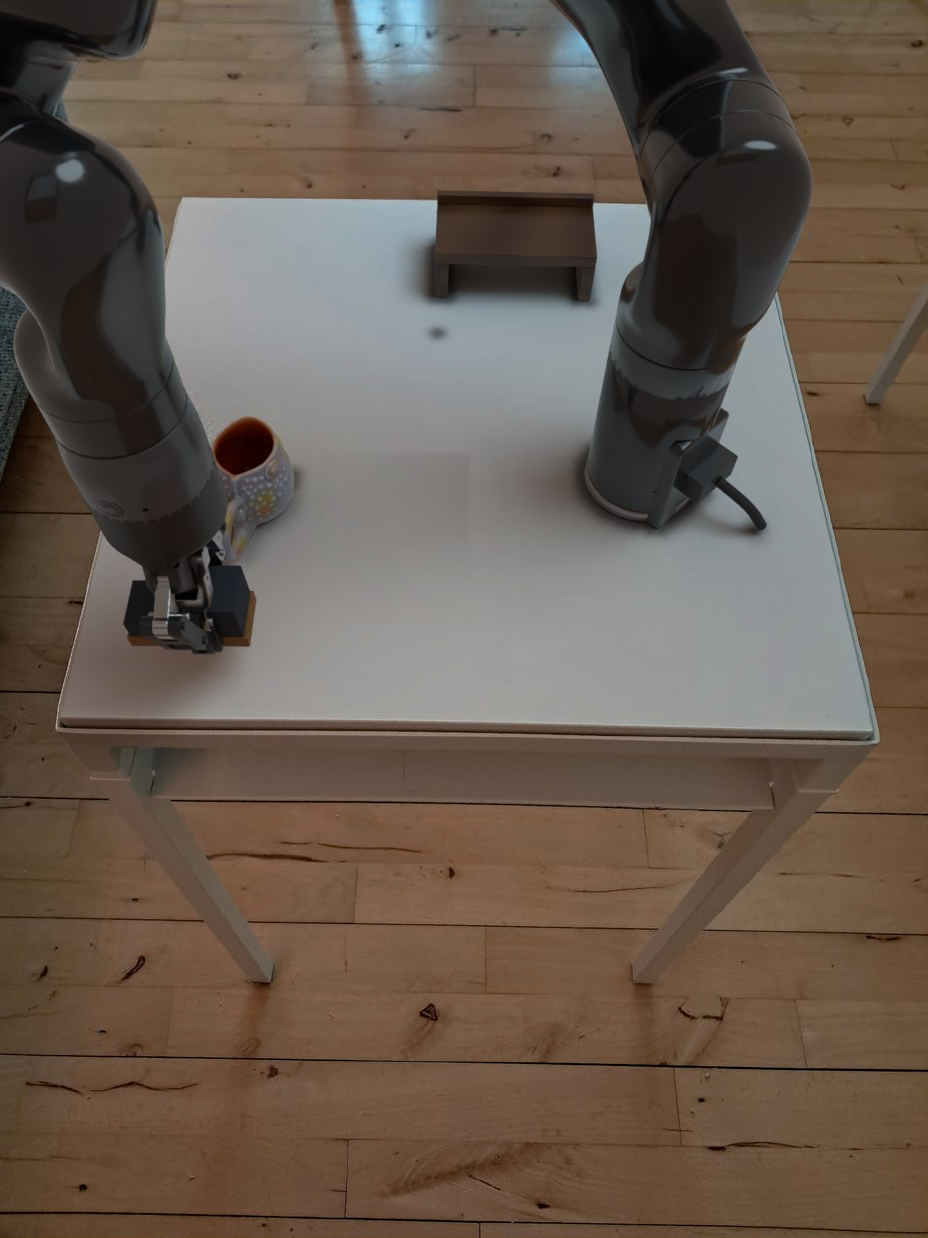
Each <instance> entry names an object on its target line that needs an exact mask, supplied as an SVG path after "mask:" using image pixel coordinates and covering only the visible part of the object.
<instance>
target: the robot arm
mask: <svg viewBox="0 0 928 1238" xmlns="http://www.w3.org/2000/svg"><path fill="white" fill-rule="evenodd" d="M548 1H549V2H550V4H552V5H553V6H554V8H556V10H557V11H558V12H559V13H560V14H561V15H562V16H563V17H564V18H565V19H566V20H567V21H568V22H569V23H570V24H571V25H572V26H573V28H575V30H576V31H577V32H578V34H579V35H580V36H581V37H582V39H583V40H584V42H585V43H586V44H587V46H588V48H589V49H590V51H591V53H592V54H593V56H594V58H595V60H596V62H597V64H598V66H599V67H600V70H601V72H602V74H603V77H604V79H605V81H606V84H607V86H608V88H609V90H610V93H611V95H612V97H613V99H614V102H615V103H616V104H615V105H616V107H617V110H618V113H619V114H620V117H621V120H622V122H623V125H624V128H625V130H626V133H627V136H628V139H629V142H630V145H631V149H632V152H633V156H634V160H635V165H636V169H637V173H638V177H639V180H640V183H641V189H642V193H643V196H644V200H645V204H646V208H647V212H648V215H649V220H650V226H649V231H648V237H647V242H646V247H645V252H644V256H643V260H642V261H641V262H639V263H638V264H637V265H636V266H634V267H633V268H632V269H631V270H630V271H629V272H628V274H627V276H626V277H625V279H624V281H623V284H622V286H621V290H620V293H619V297H618V301H617V302H618V303H617V308H616V313H615V318H614V324H613V329H612V334H611V340H610V344H609V349H608V353H607V360H606V364H605V370H604V375H603V380H602V384H601V389H600V395H599V400H598V403H597V404H598V405H597V411H596V416H595V420H594V426H593V429H592V436H591V442H590V446H589V451H588V453H587V457H586V461H585V466H584V481H585V485H586V488H587V490H588V492H589V494H590V495H591V497H592V498H593V499H594V501H596V502H597V504H598V505H600V506H601V507H602V508H603V509H605V510H606V511H608V512H609V513H611V514H612V515H615V516H618V517H619V518H622V519H626V520H630V521H635V522H636V521H637V522H646V523H648V524H650V525H651V526H652V527H654V528H656V529H658V528H660V527H661V526H662V525H664V524H665V523H666V522H667V521H669V520H670V519H671V518H672V517H673V516H674V515H676V514H677V513H678V512H680V511H681V510H682V509H683V508H684V507H685V506H686V505H687V504H688V503H689V502H691V501H692V502H693V503H695V504H697V505H699V503H700V502H702V501H703V500H704V499H705V498H706V497H707V496H709V494H711V493H712V492H713V491H714V490H715V489H716V488H717V489H718V490H720V491H721V492H722V493H724V494H725V495H726V496H727V497H728V498H729V499H730V500H732V501H733V502H734V503H735V504H737V505H738V506H739V507H740V508H741V509H742V510H743V511H744V512H745V513H746V515H747V516H748V517H749V519H750V520H751V522H752V524H753V525H754V527H755V529H756V530H757V531H759V532H760V531H761V532H762V531H763V530H765V529H766V528H767V527H768V523H767V522H766V519H765V518H764V516H763V515H762V513H761V512H760V510H759V508H758V507H757V506H756V505H755V504H754V503H753V502H752V501H751V499H749V498H748V497H747V496H746V495H745V494H743V493H742V492H741V491H740V490H739V489H737V487H735V486H734V485H733V484H732V483H731V482H729V481H728V480H727V479H728V478H729V477H731V475H732V473H733V471H734V468H735V466H736V463H737V461H738V458H739V456H738V455H737V454H735V452H733V451H731V450H730V449H729V448H727V447H726V446H724V445H723V444H721V443H720V442H721V439H722V436H723V434H724V431H725V428H726V425H727V423H728V420H729V417H730V413H729V411H727V410H726V409H725V408H723V404H724V401H725V398H726V394H727V393H728V389H729V387H730V384H731V381H732V378H733V375H734V372H735V370H736V367H737V364H738V362H739V358H740V355H741V353H742V350H743V348H744V345H745V343H746V340H747V337H748V335H749V333H750V332H751V331H752V330H753V329H754V328H755V327H756V326H757V325H758V324H759V323H760V322H761V321H762V319H763V318H764V316H765V315H766V314H767V312H768V311H769V309H770V307H771V305H772V303H773V301H774V299H775V297H776V295H777V292H778V290H779V287H780V285H781V282H782V280H783V278H784V275H785V274H786V271H787V270H788V269H787V268H788V266H789V264H790V262H791V260H792V257H793V255H794V252H795V250H796V248H797V245H798V243H799V240H800V238H801V236H802V233H803V230H804V228H805V224H806V221H807V220H808V215H809V211H810V208H811V203H812V198H813V188H814V177H813V169H812V166H811V162H810V159H809V157H808V154H807V153H806V150H805V148H804V145H803V143H802V140H801V138H800V135H799V133H798V130H797V128H796V125H795V123H794V120H793V118H792V116H791V113H790V111H789V109H788V106H787V104H786V102H785V100H784V98H783V96H782V94H781V93H780V91H779V89H778V87H777V85H776V84H775V82H774V81H773V79H772V78H771V76H770V74H769V73H768V71H767V69H766V68H765V66H764V65H763V63H762V61H761V60H760V58H759V56H758V54H757V53H756V51H755V49H754V47H753V46H752V44H751V42H750V40H749V38H748V36H747V35H746V33H745V31H744V29H743V28H742V25H741V23H740V22H739V19H738V18H737V15H736V13H735V11H734V10H733V8H732V6H731V3H730V1H729V0H548ZM158 3H159V0H0V287H1V288H3V289H5V290H7V291H8V292H10V293H12V294H13V295H16V296H17V298H19V299H20V301H22V303H23V304H24V305H25V307H26V309H25V310H24V311H23V313H22V314H21V316H20V318H19V319H18V321H17V324H16V326H15V330H14V335H13V352H14V357H15V363H16V364H17V368H18V370H19V372H20V375H21V377H22V379H23V382H24V384H25V386H26V388H27V390H28V392H29V393H30V396H31V398H32V399H33V401H34V403H35V405H36V406H37V408H38V410H39V412H40V414H41V415H42V417H43V419H44V421H45V423H46V425H47V426H48V428H49V430H50V432H51V433H52V435H53V438H54V440H55V443H56V445H57V448H58V452H59V455H60V458H61V460H62V462H63V466H64V467H65V469H66V471H67V473H68V474H69V476H70V478H71V480H72V481H73V483H74V485H75V486H76V488H77V490H78V492H79V494H80V496H81V498H82V500H83V501H84V503H85V505H86V506H87V508H88V511H89V512H90V513H91V515H92V517H93V519H94V521H95V522H96V524H97V527H98V528H99V530H100V532H101V533H102V535H103V537H104V538H105V540H106V541H107V543H108V544H109V545H110V546H111V547H112V548H113V549H114V550H116V551H117V552H118V553H120V554H121V555H123V556H124V557H126V558H128V559H129V560H131V561H133V562H135V563H136V564H138V565H139V566H141V570H142V572H143V575H144V580H145V581H146V585H147V587H148V588H149V590H150V591H151V592H153V593H154V595H155V603H154V612H150V613H149V614H148V616H142V617H141V618H140V622H139V630H140V634H141V635H142V636H143V637H145V638H147V639H149V640H150V641H152V642H154V643H156V644H157V645H159V646H158V647H161V648H163V649H164V650H166V651H191V653H192V654H193V655H207V656H208V655H210V656H211V655H212V656H213V655H216V653H221V652H223V648H224V647H223V644H224V640H223V638H222V635H221V633H220V631H219V629H218V626H217V624H216V622H215V620H214V617H213V615H212V611H211V607H210V605H211V602H212V598H213V595H214V589H213V585H212V581H211V577H210V573H209V569H208V565H225V563H224V562H225V561H224V556H225V549H224V546H223V544H222V535H225V532H226V529H227V524H226V522H225V517H226V513H227V495H226V491H225V488H224V485H223V482H222V479H221V476H220V473H219V471H218V468H217V465H216V462H215V459H214V456H213V453H212V450H211V444H210V441H209V439H208V436H207V434H206V430H205V427H204V423H203V422H202V419H201V417H200V414H199V412H198V410H197V408H196V406H195V404H194V402H193V401H192V399H191V397H190V396H189V394H188V392H187V390H186V388H185V385H184V383H183V380H182V377H181V374H180V371H179V369H178V365H177V362H176V360H175V357H174V355H173V351H172V348H171V346H170V343H169V341H168V338H167V336H166V317H167V299H166V297H167V296H166V254H165V253H166V252H165V236H164V229H163V225H162V220H161V216H160V214H159V211H158V207H157V205H156V203H155V200H154V197H153V196H152V194H151V192H150V191H149V188H148V187H147V184H146V183H145V181H144V180H143V179H142V177H141V175H140V174H139V171H137V170H136V168H135V167H134V165H133V164H132V163H131V162H130V161H129V159H128V158H127V157H126V156H125V155H124V154H123V153H122V152H121V151H120V150H118V148H116V147H114V146H113V145H112V144H111V143H110V142H108V141H106V140H104V139H103V138H101V137H98V136H97V135H95V134H93V133H91V132H89V131H87V130H85V129H83V128H81V127H79V126H76V125H74V124H71V123H69V122H67V121H66V120H63V119H61V118H59V117H57V116H56V114H57V110H58V107H59V104H60V102H61V99H62V97H63V95H64V93H65V91H66V88H67V87H68V84H69V82H70V80H71V78H72V76H73V74H74V72H75V71H76V69H77V67H78V65H79V63H80V62H82V61H84V60H94V61H95V60H96V61H104V62H122V61H127V60H131V59H133V58H135V57H136V56H138V55H139V54H140V53H141V52H142V51H143V49H145V47H146V45H147V43H148V40H149V38H150V35H151V32H152V29H153V25H154V22H155V17H156V13H157V9H158ZM197 586H198V588H196V587H197ZM181 608H192V609H196V610H197V611H198V613H188V612H182V609H181Z"/></svg>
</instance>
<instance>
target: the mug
mask: <svg viewBox="0 0 928 1238" xmlns="http://www.w3.org/2000/svg"><path fill="white" fill-rule="evenodd" d="M210 448H211V450H212V453H213V456H214V459H215V462H216V465H217V468H218V471H219V473H220V476H221V479H222V482H223V485H224V488H225V491H226V495H227V513H226V517H225V522H226V524H227V529H226V532H225V535H222V544H223V546H224V549H225V556H224V560H223V562H228V563H231V562H234V561H236V560H237V559H238V558H239V557H240V555H242V553H243V551H244V550H245V548H246V546H247V544H248V542H249V540H250V538H251V536H252V534H253V533H254V531H255V529H256V527H257V526H259V525H262V524H265V523H268V522H271V521H272V520H274V519H276V518H277V517H278V516H279V515H280V514H282V512H284V511H285V509H286V508H287V506H288V505H289V503H290V502H291V499H292V496H293V493H294V490H295V489H294V488H295V474H294V469H293V465H292V462H291V459H290V457H289V455H288V453H287V451H286V449H285V448H284V445H283V442H282V440H281V438H280V437H279V436H278V435H277V434H276V433H275V431H274V430H273V428H272V427H271V426H270V425H269V424H268V423H266V422H265V421H263V420H262V419H260V418H258V417H255V416H242V417H240V418H237V419H235V420H233V421H232V422H230V423H229V424H227V426H225V427H224V428H223V429H222V430H221V431H220V432H219V433H218V434H217V435H216V437H215V438H214V439H213V441H212V442H211V444H210ZM232 530H233V531H234V533H233V539H232Z"/></svg>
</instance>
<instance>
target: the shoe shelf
mask: <svg viewBox="0 0 928 1238" xmlns="http://www.w3.org/2000/svg"><path fill="white" fill-rule="evenodd" d="M594 204H595V194H594V193H584V192H583V193H582V192H581V193H580V192H543V191H539V192H537V191H498V190H497V191H491V190H490V191H489V190H444V189H438V190H436V222H435V226H436V227H435V245H434V246H435V247H434V276H435V277H434V278H435V279H434V281H435V282H434V283H435V285H434V287H435V298H437V299H448V298H449V277H450V275H449V272H450V265H477V266H478V265H481V266H482V265H483V266H484V265H485V266H529V267H533V266H534V267H571V268H573V267H574V268H575V276H576V291H577V301H581V302H590V301H591V299H592V291H593V285H594V279H595V278H594V277H595V273H596V266H597V261H598V252H597V251H598V250H597V239H596V238H597V237H596V227H595V215H594Z"/></svg>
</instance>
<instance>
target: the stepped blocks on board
mask: <svg viewBox="0 0 928 1238" xmlns="http://www.w3.org/2000/svg"><path fill="white" fill-rule="evenodd" d="M208 569H209V573H210V577H211V581H212V585H213V589H214V595H213V598H212V602H211V605H210V607H211V611H212V615H213V617H214V620H215V622H216V624H217V626H218V629H219V631H220V633H221V635H222V638H223V640H224V644H223V648H224V647H225V648H226V647H232V648H233V647H236V648H237V647H238V648H239V647H243V648H250V647H251V643H252V636H253V627H254V621H255V614H256V606H257V597H256V594H255V591H254V590H250V589H251V588H250V587H249V584H248V581H247V578H246V575H245V573H244V570H243V568H242V565H240V564H239V565H238V564H237V565H233V564H232V565H230V564H229V565H226V564H224V565H208ZM131 581H132V582H131V586H130V591H129V596H128V601H127V605H126V609H125V613H124V618H123V623H122V624H123V626H124V628H125V629H126V631H127V636H126V639H127V641H128V642H129V644H130V645H131V646H132V647H160V646H159V645H157V644H156V643H154V642H152V641H150V640H149V639H147V638H145V637H143V636H142V635H141V634H140V630H139V622H140V618H141V617H142V616H148V614H149V613H150V612H154V603H155V595H154V593H153V592H151V591H150V590H149V588H148V587H147V585H146V581H145V579H133V580H131ZM196 588H198V586H197V587H196ZM181 609H182V612H188V613H198V611H197V610H196V609H192V608H181Z"/></svg>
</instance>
